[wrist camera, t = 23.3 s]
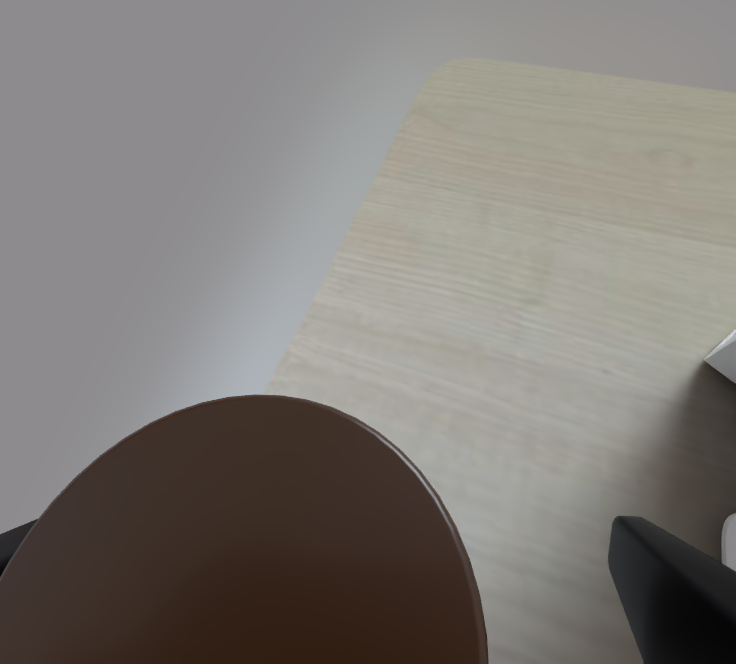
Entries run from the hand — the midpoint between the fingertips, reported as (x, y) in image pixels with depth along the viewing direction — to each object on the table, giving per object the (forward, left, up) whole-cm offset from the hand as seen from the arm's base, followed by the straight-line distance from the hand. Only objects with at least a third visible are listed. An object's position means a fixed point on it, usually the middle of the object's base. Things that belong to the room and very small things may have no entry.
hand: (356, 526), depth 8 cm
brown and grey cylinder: (-1, -1, -7) cm, 7 cm away
